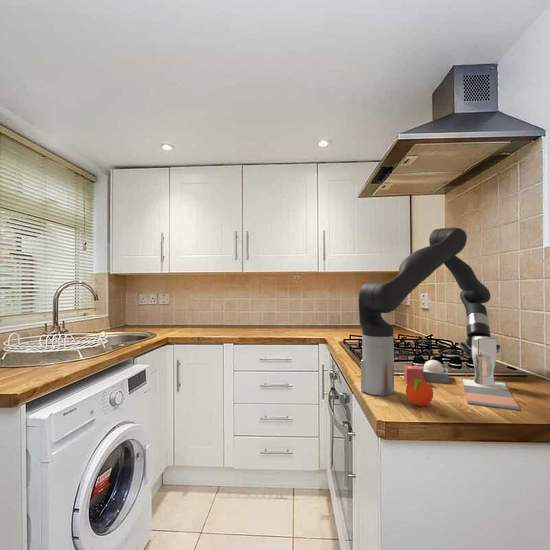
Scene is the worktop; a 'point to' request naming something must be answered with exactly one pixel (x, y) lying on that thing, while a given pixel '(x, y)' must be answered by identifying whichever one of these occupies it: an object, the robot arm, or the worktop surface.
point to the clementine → (419, 392)
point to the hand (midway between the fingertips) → (481, 367)
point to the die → (412, 373)
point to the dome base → (436, 376)
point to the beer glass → (484, 360)
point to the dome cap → (433, 366)
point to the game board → (489, 395)
